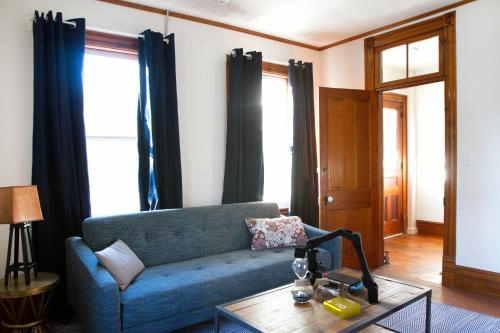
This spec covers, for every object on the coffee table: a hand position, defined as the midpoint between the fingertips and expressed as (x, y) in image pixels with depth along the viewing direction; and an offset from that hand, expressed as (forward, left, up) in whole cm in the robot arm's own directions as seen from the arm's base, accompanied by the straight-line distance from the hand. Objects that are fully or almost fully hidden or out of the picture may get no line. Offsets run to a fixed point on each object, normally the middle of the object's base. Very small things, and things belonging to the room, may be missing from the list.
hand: (311, 285), depth 221 cm
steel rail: (0, 0, 0) cm, 1 cm away
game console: (+10, -27, -2) cm, 29 cm away
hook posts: (-9, -8, -5) cm, 13 cm away
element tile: (-24, -8, -6) cm, 26 cm away
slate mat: (0, 0, -5) cm, 5 cm away
